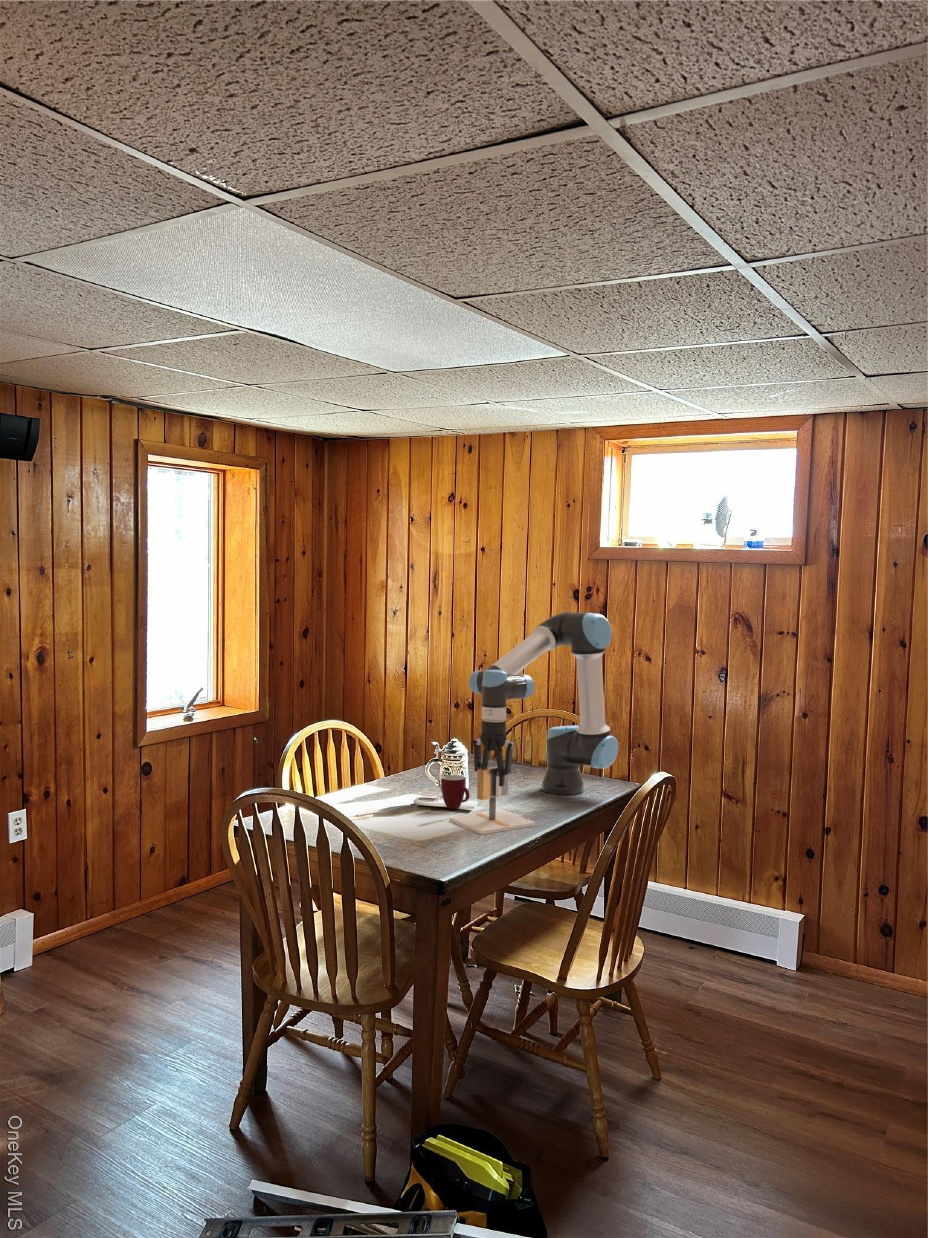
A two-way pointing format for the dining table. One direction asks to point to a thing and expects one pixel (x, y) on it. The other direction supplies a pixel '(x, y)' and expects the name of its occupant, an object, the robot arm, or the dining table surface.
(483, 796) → the grey slab
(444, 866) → the dining table surface
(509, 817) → the post base
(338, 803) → the dining table surface
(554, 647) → the robot arm
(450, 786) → the mug
